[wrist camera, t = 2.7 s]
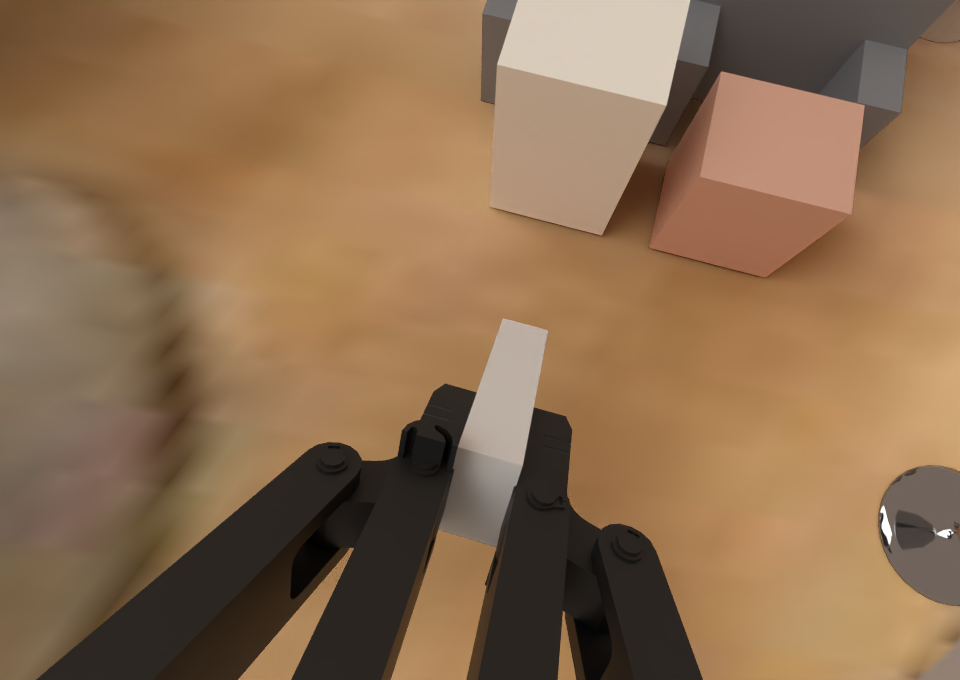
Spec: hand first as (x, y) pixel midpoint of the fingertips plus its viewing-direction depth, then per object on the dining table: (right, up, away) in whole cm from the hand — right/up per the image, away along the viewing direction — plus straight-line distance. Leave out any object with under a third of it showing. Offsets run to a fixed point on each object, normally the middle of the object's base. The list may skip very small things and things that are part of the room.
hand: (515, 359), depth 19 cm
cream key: (+4, +11, +17) cm, 20 cm away
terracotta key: (+13, +8, +16) cm, 22 cm away
